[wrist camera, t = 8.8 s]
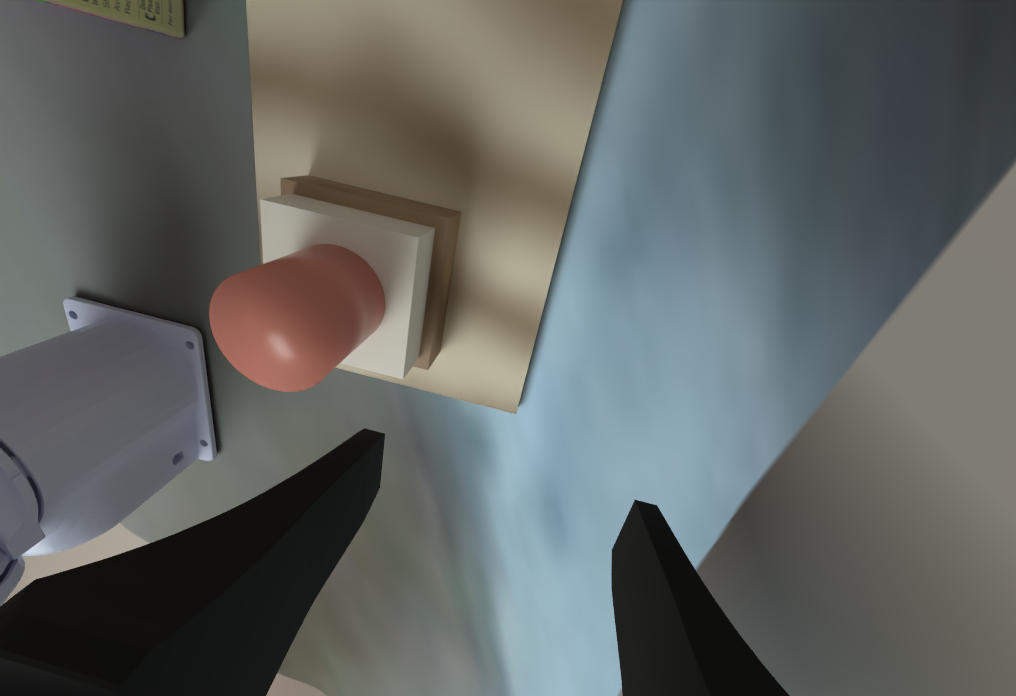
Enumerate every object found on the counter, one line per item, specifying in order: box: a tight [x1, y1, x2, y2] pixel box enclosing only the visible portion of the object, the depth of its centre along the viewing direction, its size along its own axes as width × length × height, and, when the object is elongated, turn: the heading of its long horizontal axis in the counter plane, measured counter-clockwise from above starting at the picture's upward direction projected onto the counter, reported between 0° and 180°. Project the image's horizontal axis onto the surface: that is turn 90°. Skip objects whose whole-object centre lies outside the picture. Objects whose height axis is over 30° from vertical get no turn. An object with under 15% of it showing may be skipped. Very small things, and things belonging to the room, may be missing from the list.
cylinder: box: [209, 244, 385, 392], centre depth 15 cm, size 4×4×4 cm
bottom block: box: [280, 175, 461, 370], centre depth 19 cm, size 7×7×2 cm
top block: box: [260, 194, 435, 379], centre depth 18 cm, size 6×6×2 cm
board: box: [246, 0, 623, 414], centre depth 18 cm, size 24×14×1 cm, turn 168°
